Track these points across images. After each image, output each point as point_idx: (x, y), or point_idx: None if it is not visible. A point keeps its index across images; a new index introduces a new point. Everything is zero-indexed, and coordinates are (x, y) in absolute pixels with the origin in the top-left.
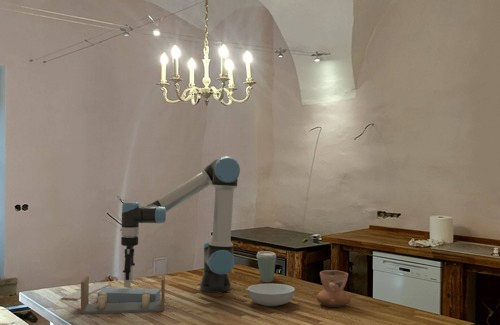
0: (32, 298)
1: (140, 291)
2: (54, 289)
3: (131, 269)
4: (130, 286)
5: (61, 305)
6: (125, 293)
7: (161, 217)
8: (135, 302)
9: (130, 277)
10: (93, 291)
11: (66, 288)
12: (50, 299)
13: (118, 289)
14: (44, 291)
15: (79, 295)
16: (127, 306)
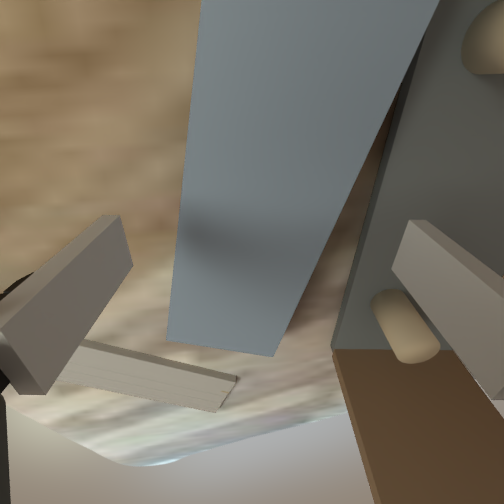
0: (200, 450)
1: (299, 109)
2: (85, 432)
3: (51, 307)
4: (419, 222)
5: (295, 399)
6: (332, 229)
7: None
8: (403, 138)
9: (502, 280)
10: (110, 352)
11: (62, 413)
12: (214, 425)
13: (209, 278)
14: (116, 443)
15: (187, 382)
16: (479, 187)
